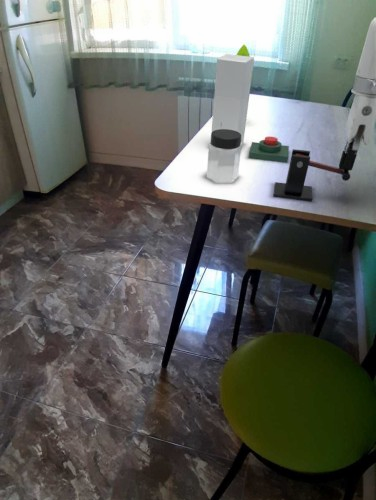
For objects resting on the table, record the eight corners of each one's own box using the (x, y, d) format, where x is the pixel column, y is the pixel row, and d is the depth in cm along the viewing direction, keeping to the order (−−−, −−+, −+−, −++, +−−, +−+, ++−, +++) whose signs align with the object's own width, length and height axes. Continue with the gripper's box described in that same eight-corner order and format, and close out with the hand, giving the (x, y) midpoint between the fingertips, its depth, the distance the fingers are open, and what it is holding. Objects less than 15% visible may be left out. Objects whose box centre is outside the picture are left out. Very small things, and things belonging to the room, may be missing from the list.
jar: (243, 181, 116) (249, 136, 108) (220, 187, 113) (225, 141, 105) (223, 170, 122) (227, 126, 113) (201, 175, 118) (204, 131, 110)
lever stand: (310, 190, 114) (320, 150, 106) (311, 203, 108) (322, 161, 100) (274, 186, 115) (282, 146, 107) (273, 198, 109) (281, 156, 102)
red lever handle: (345, 173, 108) (350, 164, 106) (347, 182, 103) (352, 173, 102) (293, 159, 108) (296, 150, 106) (292, 168, 104) (296, 158, 102)
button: (276, 143, 130) (278, 137, 129) (276, 147, 127) (277, 141, 126) (264, 141, 131) (265, 135, 130) (263, 145, 128) (264, 140, 127)
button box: (287, 152, 135) (290, 140, 132) (286, 164, 127) (289, 150, 125) (251, 148, 136) (252, 136, 133) (248, 159, 129) (250, 146, 126)
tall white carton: (209, 149, 134) (216, 58, 117) (218, 141, 140) (226, 53, 123) (235, 153, 132) (246, 62, 115) (243, 145, 138) (254, 57, 121)
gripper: (393, 96, 86) (363, 182, 98) (382, 80, 97) (357, 160, 109) (356, 92, 87) (331, 178, 99) (350, 77, 97) (328, 156, 110)
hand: (345, 168), depth 104 cm, fingers closed
